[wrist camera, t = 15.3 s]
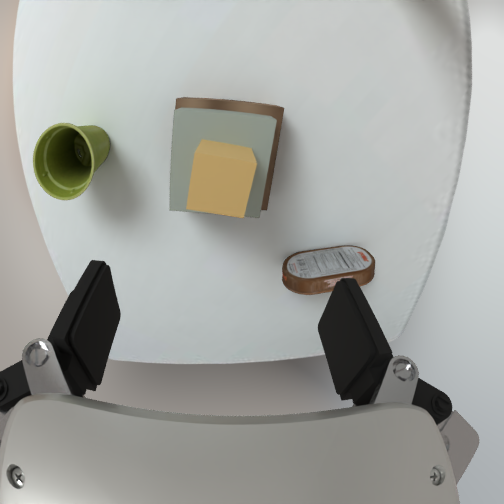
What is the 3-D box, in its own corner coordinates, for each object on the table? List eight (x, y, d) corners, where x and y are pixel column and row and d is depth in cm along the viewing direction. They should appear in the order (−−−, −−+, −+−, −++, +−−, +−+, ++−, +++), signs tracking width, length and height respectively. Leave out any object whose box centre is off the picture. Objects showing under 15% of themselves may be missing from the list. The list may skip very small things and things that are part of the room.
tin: (278, 266, 45) (287, 302, 38) (277, 251, 44) (286, 286, 37) (362, 254, 45) (382, 285, 38) (363, 238, 44) (385, 268, 37)
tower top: (270, 116, 28) (276, 119, 24) (256, 203, 34) (259, 217, 30) (181, 107, 26) (174, 110, 23) (175, 196, 32) (169, 210, 29)
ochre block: (251, 147, 26) (257, 163, 21) (240, 192, 28) (243, 218, 24) (201, 139, 25) (194, 152, 20) (194, 185, 28) (186, 209, 23)
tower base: (276, 105, 31) (284, 108, 27) (262, 195, 38) (266, 210, 34) (183, 97, 30) (176, 98, 26) (178, 189, 37) (171, 203, 33)
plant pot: (58, 132, 29) (23, 147, 22) (107, 101, 28) (75, 108, 21) (81, 185, 34) (52, 210, 27) (130, 160, 33) (106, 182, 26)
